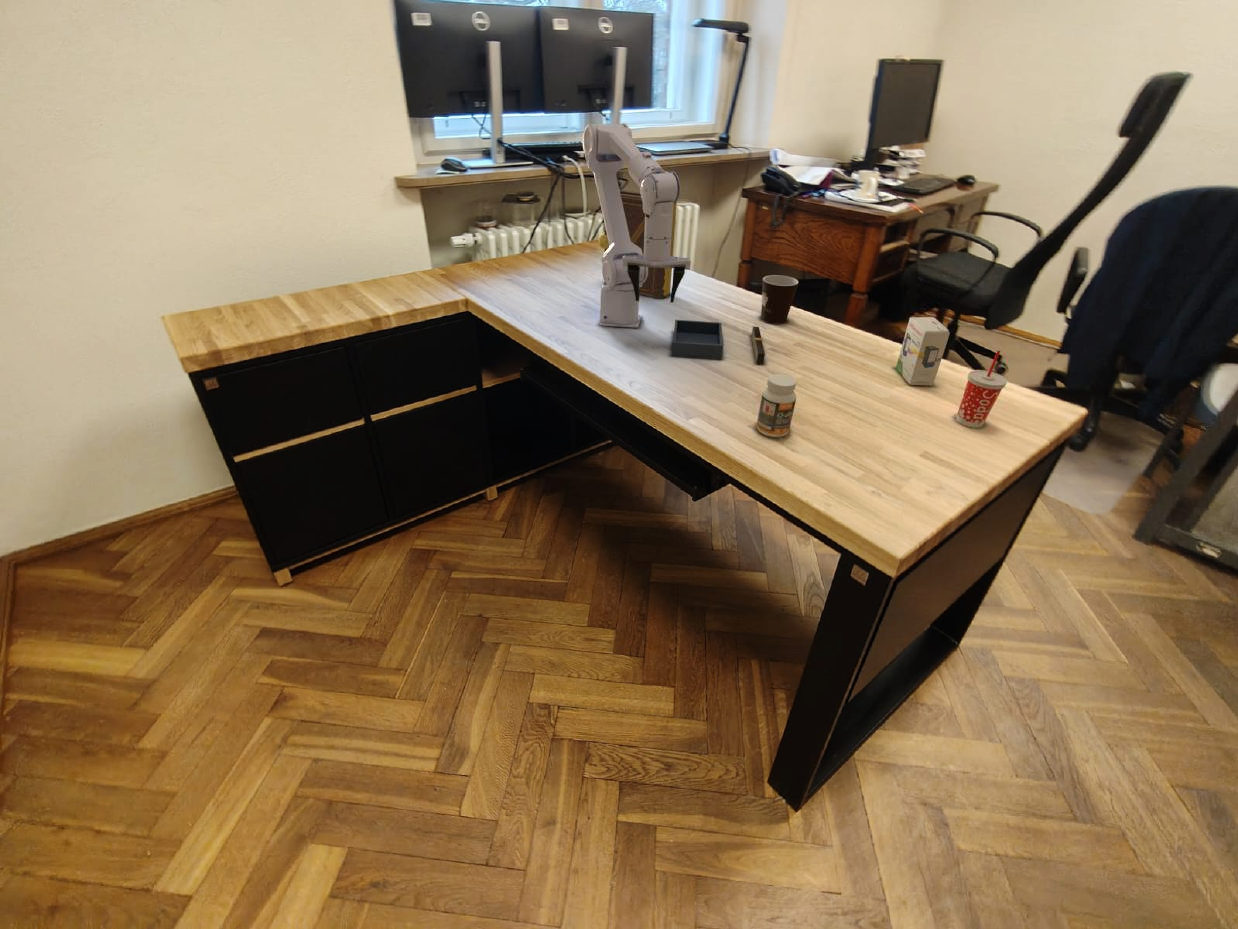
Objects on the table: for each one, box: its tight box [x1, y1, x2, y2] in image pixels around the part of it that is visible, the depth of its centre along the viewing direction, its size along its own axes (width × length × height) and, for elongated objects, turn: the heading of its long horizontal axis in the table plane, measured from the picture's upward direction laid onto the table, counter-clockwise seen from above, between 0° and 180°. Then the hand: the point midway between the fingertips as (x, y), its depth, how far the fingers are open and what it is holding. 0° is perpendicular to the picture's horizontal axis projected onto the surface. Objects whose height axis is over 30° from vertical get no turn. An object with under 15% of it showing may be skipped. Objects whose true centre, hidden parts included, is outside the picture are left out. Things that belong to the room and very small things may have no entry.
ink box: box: [895, 316, 951, 386], centre depth 120 cm, size 9×5×12 cm, turn 178°
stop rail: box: [750, 326, 766, 365], centre depth 133 cm, size 2×16×3 cm, turn 173°
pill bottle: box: [756, 373, 797, 438], centre depth 101 cm, size 6×6×10 cm
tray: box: [671, 319, 724, 361], centre depth 134 cm, size 11×14×3 cm
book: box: [598, 189, 678, 300], centre depth 160 cm, size 22×8×25 cm, turn 58°
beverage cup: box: [955, 349, 1008, 429], centre depth 104 cm, size 6×6×14 cm
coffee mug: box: [760, 274, 799, 325], centre depth 148 cm, size 12×9×10 cm
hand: (654, 300), depth 130 cm, fingers open, 7 cm apart
